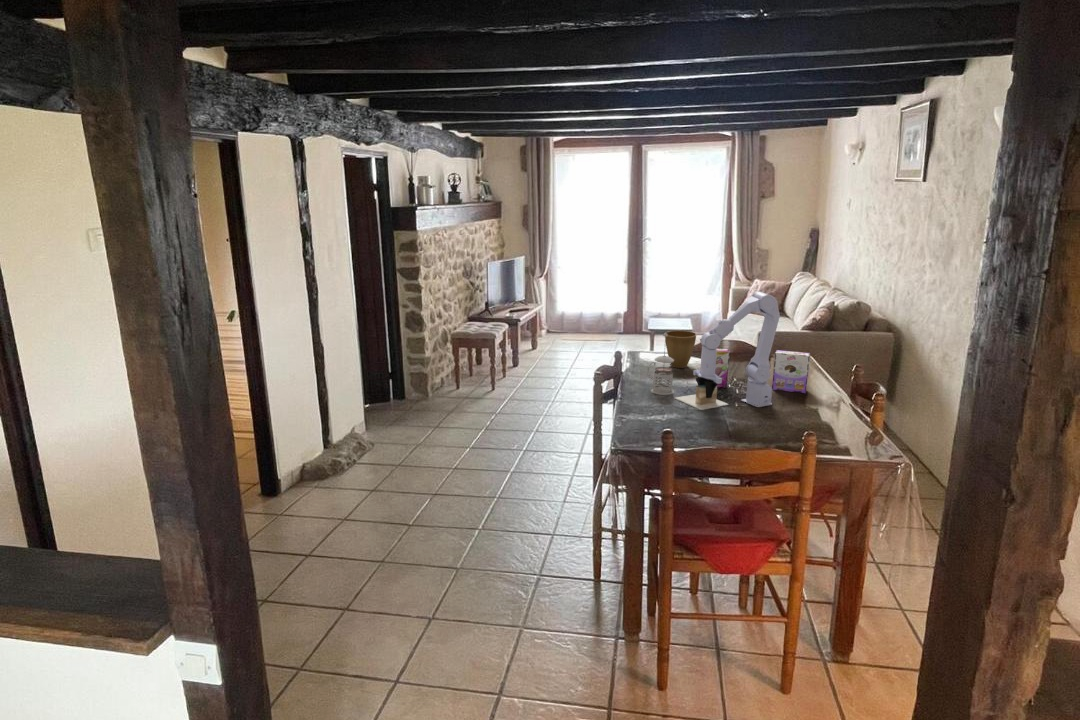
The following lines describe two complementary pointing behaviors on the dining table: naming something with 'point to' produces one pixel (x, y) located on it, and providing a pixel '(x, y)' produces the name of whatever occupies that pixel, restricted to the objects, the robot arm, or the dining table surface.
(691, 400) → the mat
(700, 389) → the slab
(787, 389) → the candy box
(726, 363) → the candy bar box
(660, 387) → the french press
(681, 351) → the plant pot
